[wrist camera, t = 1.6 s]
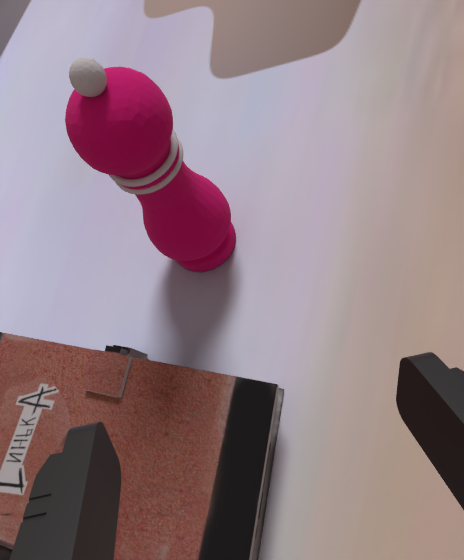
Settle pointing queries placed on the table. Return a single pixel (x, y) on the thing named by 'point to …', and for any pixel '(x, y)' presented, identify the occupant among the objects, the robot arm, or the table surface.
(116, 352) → the book
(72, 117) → the pepper mill
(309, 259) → the table surface
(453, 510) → the table surface
